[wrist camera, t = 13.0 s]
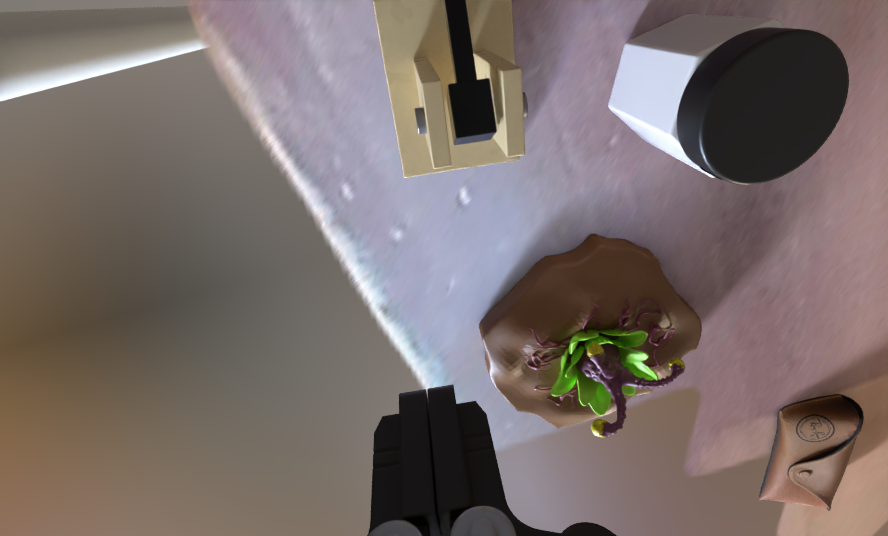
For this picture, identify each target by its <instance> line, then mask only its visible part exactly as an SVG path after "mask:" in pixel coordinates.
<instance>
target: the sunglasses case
mask: <svg viewBox="0 0 888 536" xmlns="http://www.w3.org/2000/svg"><path fill="white" fill-rule="evenodd" d="M863 420H864V416H863V411H862V408H861V407H860V406H859V404H858V403H856V402H855V401H854V400H852V399H851V398H849V397H846V396H844V395H840V394H834V395H829V396H822V397H816V398H812V399H808V400H804V401H801V402H797V403H794V404H791V405H788V406H785V407H783V408H782V409H781V410H779V412H778V425H777V432H776V436H775V441H774V445H773V449H772V453H771V457H770V460H769V463H768V466H767V470H766V473H765V477H764V481H763V484H762V487H761V492H760V495H759V500H760V501H762V500H773V501H781V502H787V503H794V504H802V505H809V506H815V507H825V508H827V510H828V511H830V509H831V503H832V500H833V497H834V495H835V493H836V490H837V488H838V486H839V484H840V482H841V479H842V477H843V474H844V472H845V469H846V467H847V464H848V461H849V458H850V456H851V453H852V450H853V447H854V444H855V440H856V437H857V435H858V434H859V432H860V431H861V428H862V425H863Z"/></svg>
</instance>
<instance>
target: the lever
mask: <svg viewBox="0 0 888 536" xmlns="http://www.w3.org/2000/svg"><path fill="white" fill-rule="evenodd" d="M443 5H444V11H445V18H446V25H447V31H448V38H449V45H450V52H451V58H452V65H453V72H454V78H455V83H452V84H448V89H447V96H446V98H447V105H448V112H449V118H450V125H451V131H452V138H453V144H454V145H461V144H468V143H474V142H481V141H487V140H491V139H492V138H493V136H494V135H495V133H496V132H497V127H496V120H495V113H494V106H493V99H492V92H491V85H490V79H489V78H485V79H478V80H477V75H476V68H475V61H474V54H473V47H472V40H471V33H470V27H469V20H468V13H467V6H466V0H443Z"/></svg>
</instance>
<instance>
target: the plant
mask: <svg viewBox="0 0 888 536" xmlns="http://www.w3.org/2000/svg"><path fill="white" fill-rule="evenodd" d="M479 329H480V333H481V337H482V340H483V343H484V346H485V349H486V355H485V360H486V365H487V369H488V372H489V375H490V378H491V380H492V382H493V384H494V386H495V387H496V389H497V390H498V391H499V392H500V393H501V394H502V395H503V396H504V397H505V398H506V400H507V401H508V402H509V403H510V404H511V405H512V406H513V407H514V408H515V409H516V410H517V411H520V412H526V413H532V414H535V415H537V416H539V417H541V418H542V419H544V420H545V421H547V422H549V423H551V424H552V425H554V426H555V427H557V428H562V427H565V426H569V425H574V424H578V423H581V422H584V421H587V420H590V419H594V418H597V417H601V416H605V415H607V414H610V413H611V412H613V411H615V410H617V421H616V422H614V423H613V424H610V423H608V422H607V421H605V420H602V419H597V420H595V421H594V422H593V423H592V426H591V430H592V432H593V434H594V435H596V436H598V437H603V438H604V437H608V436H611V435H613V434H616V433H617V431H618V430H619V429H622V428H623V423H624V419H625V418H626V414H625V411H626V406H625V404H626V402H627V401H629V400H630V399H631V398H633V397H635V396H637V395H641V394H648V393H651V392H652V390H653V389H654V387H657V388H658V387H660V386H662V387H663V386H664V385H668V383H670V382H673V380H674V379H676V378H677V376H679V375H680V374H682V373H683V372H684V369H685V364H684V362H683V361H682V360H680V359H681V358H682V357H683V356H684V355H685V354H687V353H689V352H691V351H694V350H695V349H696V348H697V346H698V343H699V340H700V337H701V331H702V325H701V321H700V318H699V316H698V315H697V313H696V312H695V311H694V310H693V309H692V307H691V306H690V305H689V304H688V303H687V302H686V301H685V300H684V299H683V298H682V297H680V296H679V295H678V294H677V293H676V292H675V290H674V289H673V287H672V286H671V285H670V283H669V282H668V280H667V279H666V277H665V276H664V274H663V272H662V269H661V265H660V262H659V260H658V258H657V257H656V256H655V255H654V254H653V253H652V252H651V251H649V250H648V249H646V248H642V247H639V246H637V245H635V244H634V243H632V242H630V241H627V240H624V239H617V238H606V237H602V236H599V235H596V234H591V235H590V236H589V237H588V238H587V239H586V240H585V242H584V243H583V244H582V245H581V246H579V247H578V248H577V249H575V250H573V251H571V252H568V253H565V254H561V255H555V256H546V257H544V258H542V259H541V260H540V261H538V262H537V263H536V264H535V265H534V266H533V267H532V269H531V270H530V271H529V272H528V273H527V274H526V275H525V276H524V277H523V278H522V279H521V280H520V281H519V282H518V283H517V284H516V285H515V287H514V288H513V289H512V290H511V291H510V292H509V293H508V294H507V295H506V296H505V297H504V298H503V300H502V301H501V302H499V303H498V304H497V305H496V306H495V307H494V308H493V309H492V310H491V311H490V312H489V313H488V314H487V315H486V316H485V317H484V318H483V319H482V321H481V322H480V324H479Z"/></svg>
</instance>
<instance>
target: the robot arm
mask: <svg viewBox="0 0 888 536" xmlns="http://www.w3.org/2000/svg"><path fill="white" fill-rule="evenodd" d="M428 402H429V403H428ZM367 536H616V535H615V534H613V533H612V532H611V531H609V530H608V529H606V528H605V527H603V526H600V525H598V524H594V523H588V522H582V523H576V524H573V525H571V526H569V527H568V528H566V529H565V530H564V531H563V532H562V533H555V532H550V531H543V530H539V529H534V528H532V527H529V526H527V525H525V524H524V523H522V522H521V521H520V520H518V519H517V518H516V517H515V516H514V515H513V513H512V512H511V511H510V509H509V507H508V505H507V502H506V499H505V494H504V490H503V486H502V481H501V477H500V473H499V468H498V463H497V459H496V455H495V450H494V446H493V441H492V437H491V433H490V428H489V424H488V419H487V415H486V413H485V412H484V411H483V410H482V408H481V407H480V406H479V405H478V404H477V402H476V401H472V402H466V403H460V404H456V399H455V393H454V386H453V385H448V386H442V387H436V388H430V389H428V398H427V393H426V389H424V390H418V391H413V392H407V393H400V394H399V414H394V415H388V416H383V417H382V419H381V421H380V423H379V425H378V427H377V429H376V431H375V433H374V455H373V474H372V498H371V522H370V529H369V533H368V535H367Z"/></svg>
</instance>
